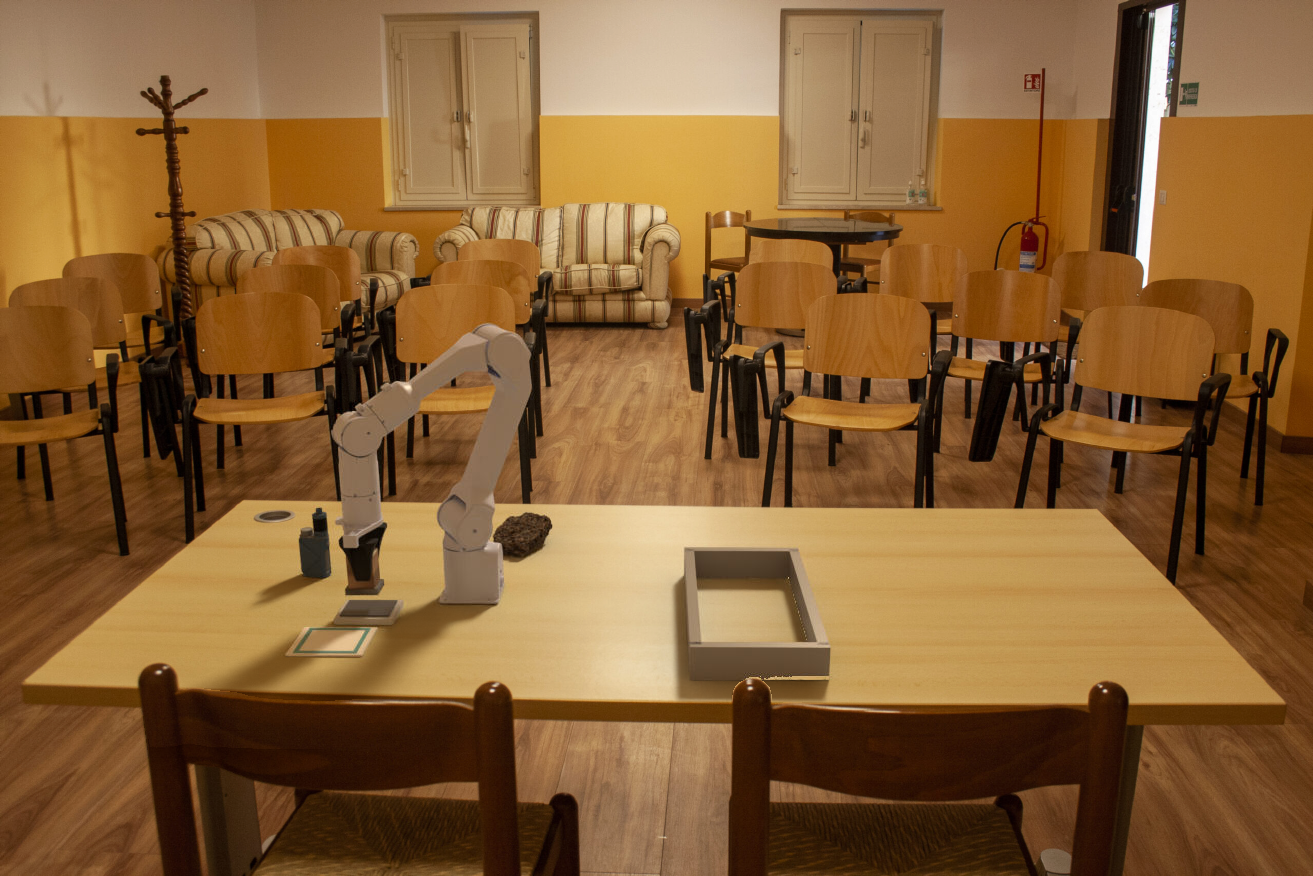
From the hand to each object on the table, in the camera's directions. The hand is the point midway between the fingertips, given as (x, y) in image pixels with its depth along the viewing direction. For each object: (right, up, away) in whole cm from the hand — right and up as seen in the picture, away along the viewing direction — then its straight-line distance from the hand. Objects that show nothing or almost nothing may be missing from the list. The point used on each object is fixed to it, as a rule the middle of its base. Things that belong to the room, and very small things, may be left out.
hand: (366, 575), depth 170 cm
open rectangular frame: (+59, -7, 0) cm, 59 cm away
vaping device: (-13, -2, +17) cm, 22 cm away
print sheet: (-3, -9, -7) cm, 12 cm away
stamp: (0, -2, +1) cm, 3 cm away
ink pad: (0, -6, +2) cm, 7 cm away
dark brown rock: (+20, +1, +31) cm, 37 cm away
